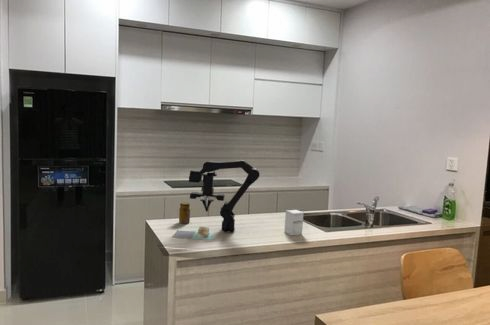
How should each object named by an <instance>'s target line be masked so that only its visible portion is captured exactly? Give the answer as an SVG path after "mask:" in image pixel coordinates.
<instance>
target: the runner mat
mask: <svg viewBox="0 0 490 325" xmlns="http://www.w3.org/2000/svg"><path fill="white" fill-rule="evenodd" d="M214 235H215V233H214V232H209V236H208V238H205V237H198V231H192V230H191V231H190V230H179V229H178V230H176V231H175V233H174V234H173V235H172V237H171V238H173V239H174V238H175V239H177V238H178V239H191V240H202V241H211V240H212V239H213V236H214Z"/></svg>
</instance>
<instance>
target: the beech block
mask: <svg viewBox="0 0 490 325" xmlns="http://www.w3.org/2000/svg"><path fill="white" fill-rule="evenodd" d="M197 232H198V237H205V238H208V236H209V233H210V227H207V226H199V228H198V229H197Z"/></svg>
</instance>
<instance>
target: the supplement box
mask: <svg viewBox="0 0 490 325" xmlns="http://www.w3.org/2000/svg"><path fill="white" fill-rule="evenodd" d="M284 216H285V217H284V218H285V219H284V233H285V234H287V235H289V236H291V237H292V236H298V235H303V224H304V211H301V210H298V209H292V210H291V209H290V210H289V209H287V210H285V215H284Z"/></svg>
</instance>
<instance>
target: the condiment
mask: <svg viewBox="0 0 490 325" xmlns="http://www.w3.org/2000/svg"><path fill="white" fill-rule="evenodd" d="M178 216H179V217H178V222H176V224H180V225H187V224H188V225H189V223H190V225H192V224H193V223H191V222H190V220H191V208H190V203H189V202H181V203H180V206H179V214H178Z"/></svg>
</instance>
